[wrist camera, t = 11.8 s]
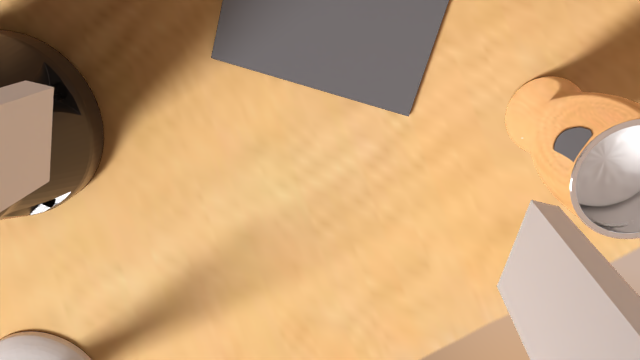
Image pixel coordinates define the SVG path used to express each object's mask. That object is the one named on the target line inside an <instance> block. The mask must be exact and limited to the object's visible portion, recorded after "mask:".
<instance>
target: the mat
mask: <svg viewBox="0 0 640 360" xmlns="http://www.w3.org/2000/svg"><path fill="white" fill-rule="evenodd" d="M448 2H449V0H223V2H222V7H221V12H220V17H219V22H218V27H217V32H216V37H215V42H214V46H213V51H212V56H211V58H213V59H216V60H220V61H223V62H226V63H230V64H233V65H237V66H240V67H243V68H247V69H250V70H253V71H257V72H260V73H264V74H267V75H270V76H274V77H277V78H280V79H284V80H287V81H291V82H294V83H297V84H301V85H304V86H307V87H311V88H314V89H318V90H321V91H324V92H328V93H331V94H334V95H338V96H341V97H345V98H348V99H351V100H355V101H358V102H361V103H365V104H368V105H372V106H375V107H378V108H382V109H385V110H389V111H392V112H395V113H399V114H402V115H405V116H409V114H410V111H411V108H412V105H413V102H414V99H415V97H416V94H417V91H418V88H419V85H420V82H421V79H422V76H423V74H424V71H425V68H426V65H427V62H428V59H429V56H430V54H431V51H432V48H433V45H434V42H435V39H436V36H437V33H438V31H439V28H440V25H441V22H442V19H443V16H444V13H445V10H446V8H447V5H448Z"/></svg>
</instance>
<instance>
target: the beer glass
mask: <svg viewBox="0 0 640 360" xmlns="http://www.w3.org/2000/svg"><path fill="white" fill-rule="evenodd" d="M505 126H506V130H507V133H508V135H509V137H510V138H511V140H512V141H513V142H514V143H515V144H516V145H517V146H518V147H520V148H521V149H523V150H524V151H527V152H529V153H530V154H531V157H532V160H533V163H534V166H535V168H536V170H537V172H538V174H539V176H540V178H541V180H542V182H543V183H544V184H545V186H546V187H547V188H548V190H549V191H550V192H551V193H552V195H553V196H554V197H555V198H556V199H557V200H558V201H559V202H560V203H561V204H562V205H563V206H565V207H566V208H567V209H568V210H569V211H570V212H572V213H573V214H574V215H575V216H577V217H578V218H579V219H580V220H581V221H582V222H583V223H584V224H585V225H587V226H588V227H589V228H591V229H592V230H594V231H596V232H597V233H600V234H602V235H605V236H608V237H612V238H618V239H635V238H640V104H639V103H637V102H635V101H632V100H629V99H626V98H623V97H620V96H616V95H610V94H604V93H592V92H582V91H581V90H580V89H579V88H578V87H577V86H576V85H575V84H574V83H572V82H571V81H569V80H567V79H565V78H561V77H556V76H546V77H540V78H537V79H534V80H532V81H530V82H528V83H526V84H525V85H523V86H522V87H521V88H519V89H518V90H517V91H516V93H515V94H514V95H513V96H512V98H511V100H510V101H509V103H508V106H507V109H506V113H505Z"/></svg>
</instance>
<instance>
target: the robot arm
mask: <svg viewBox="0 0 640 360" xmlns="http://www.w3.org/2000/svg"><path fill="white" fill-rule="evenodd" d="M103 139H104V135H103V124H102V119H101V114H100V111H99V108H98V105H97V102H96V100H95V97H94V95H93V93H92V91H91V89H90V88H89V86H88V84H87V83H86V81H85V80H84V78H83V77H82V75H81V74H80V73H79V72H78V70H77V69H76V68H75V67H74V66H73V65H72V64H71V63H70V62H69V61H68V60H67V59H66V58H65V57H64V56H63V55H61V54H60V53H59V52H58V51H56V50H55V49H53V48H52V47H50V46H49V45H47V44H45V43H44V42H42V41H40V40H38V39H35V38H33V37H31V36H28V35H25V34H22V33H18V32H13V31H6V30H0V220H2V219H8V218H15V217H21V216H28V215H34V214H38V213H42V212H45V211H48V210H51V209H53V208H55V207H57V206H59V205H61V204H62V203H64V202H65V201H67V200H68V199H70V198H71V197H73V196H74V195H75V194H77V193H78V192H79V191H81V190H82V189H83V188H84V187H85V186H86V185H87V183H88V182H89V181H90V180H91V178H92V177H93V175H94V173H95V172H96V170H97V167H98V165H99V162H100V159H101V155H102V150H103ZM497 288H498V290H499V292H500V294H501V296H502V299H503V301H504V303H505V305H506V307H507V310H508V312H509V314H510V316H511V318H512V321H513V323H514V325H515V327H516V329H517V332H518V334H519V336H520V338H521V340H522V343H523V345H524V347H525V349H526V351H527V353H528V355H529V357H530V360H640V296H639V295H638V294H637V293H636V292H635V291H634V290H633V289H632V287H631V286H630V285H629V284H628V283H627V282H626V281H625V280H624V279H623V278H622V276H621V275H620V274H619V273H618V272H617V271H616V270H615V269H614V267H613V266H612V265H611V264H610V263H609V262H608V261H607V260H606V259H605V257H604V256H603V255H602V254H601V253H600V252H599V251H598V250H597V249H596V247H595V246H594V245H593V244H592V243H591V242H590V241H589V240H588V239H587V237H586V236H585V235H584V234H583V233H582V232H581V231H580V230H579V229H578V227H577V226H576V225H575V224H574V223H573V222H572V221H571V220H570V219H569V217H568V216H567V215H566V214H565V213H564V212H563V211H562V210H561V209H560V207H559V206H554V205H550V204H546V203H542V202H537V201H533V200H531V202H530V204H529V207H528V209H527V212H526V214H525V217H524V219H523V222H522V224H521V227H520V229H519V232H518V234H517V237H516V239H515V242H514V245H513V247H512V250H511V252H510V255H509V257H508V260H507V262H506V265H505V267H504V270H503V272H502V275H501V277H500V280H499V282H498V285H497Z"/></svg>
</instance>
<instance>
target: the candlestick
mask: <svg viewBox="0 0 640 360" xmlns="http://www.w3.org/2000/svg"><path fill="white" fill-rule="evenodd" d="M0 360H92V359H91V358H90V357H89V356H88V355H87V354H86V353H85V352H83V351H82V350H81V349H80V348H78V347H77V346H76V345H74V344H72V343H71V342H69V341H67V340H65V339H63V338H60V337H58V336H55V335H52V334H48V333H43V332H35V331H26V332H18V333H14V334H11V335H8V336H6V337H4V338H2V339H1V340H0Z"/></svg>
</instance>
